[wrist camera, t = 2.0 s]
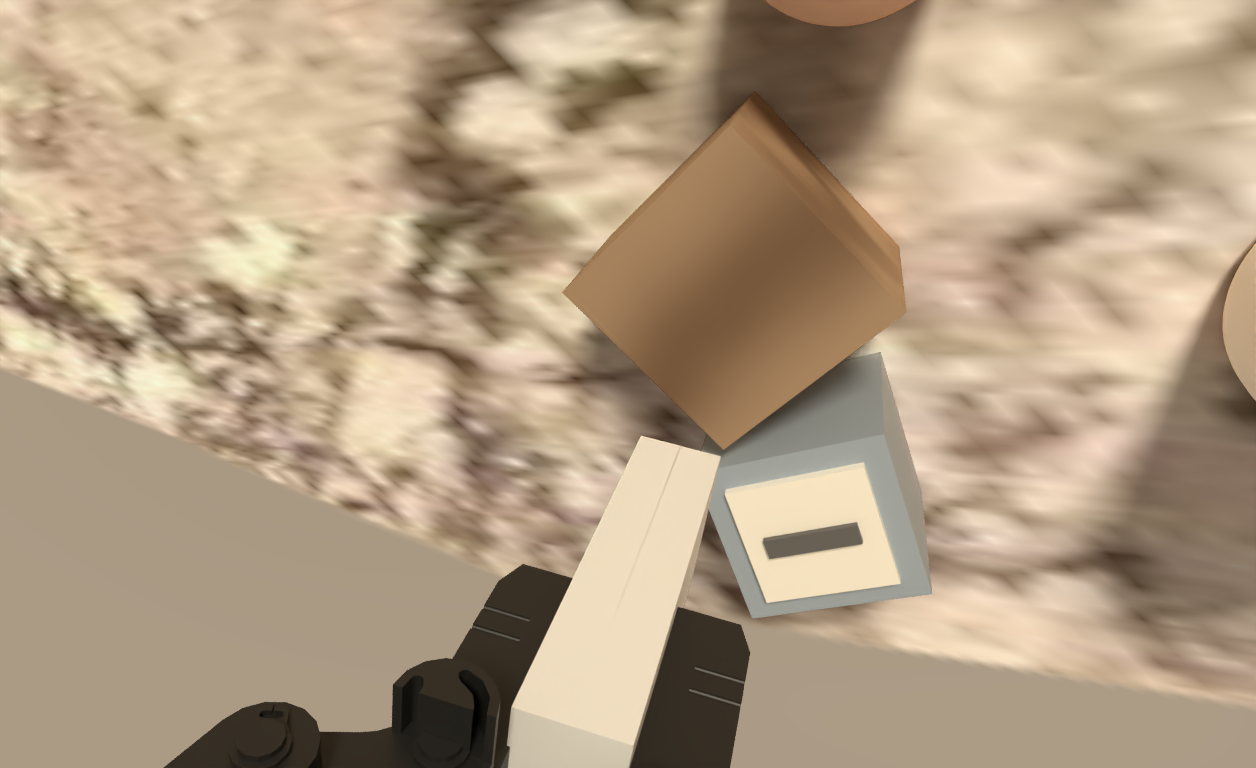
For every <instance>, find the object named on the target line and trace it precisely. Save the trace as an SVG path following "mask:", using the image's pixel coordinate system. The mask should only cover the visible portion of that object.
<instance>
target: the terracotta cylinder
mask: <svg viewBox="0 0 1256 768" xmlns="http://www.w3.org/2000/svg"><path fill="white" fill-rule="evenodd" d="M765 1H766V2H767V3H768V4H770V5H771V6H772V7H774V8H776V9H777V10H779V11H781V12H782V13H784V14H786V15H788V16H791V17H793V18H795V19H798V20H800V21H804V22H808V23H812V24H816V25H824V26H851V25H857V24H863V23H868V22H871V21H874V20H878V19H881V18H884V17H886V16H888V15H890V14H893V13H895V12H897V11H899V10H901V9H903V8H904V7H906V6H908V5H909V4H911V3H912V2H914V1H916V0H765Z"/></svg>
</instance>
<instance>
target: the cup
mask: <svg viewBox="0 0 1256 768" xmlns="http://www.w3.org/2000/svg"><path fill="white" fill-rule="evenodd" d="M1223 339H1224V344H1225V348H1226V352H1227V355H1228V357H1229V360H1230V362H1231V365H1232V367H1233V369H1234V371H1235V373H1236V375H1237V376H1238V378H1239V380H1240V381H1241V382H1242V384H1243V385H1244V387H1245V388H1246V389H1247V391H1248V392H1249V393H1250V395H1251V396H1252V397H1253V398H1254V400H1255V401H1256V244H1255V245H1254V246H1253V247H1252V249H1251V250H1250V251H1249V252H1248V254H1247V255H1246V256H1245V258H1244V260H1243V261H1242V263H1241V264H1240V266H1239V268H1238V270H1237V272H1236V274H1235V276H1234V278H1233V280H1232V282H1231V285H1230V288H1229V290H1228V294H1227V297H1226V301H1225V305H1224V312H1223Z"/></svg>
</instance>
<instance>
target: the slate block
mask: <svg viewBox="0 0 1256 768" xmlns="http://www.w3.org/2000/svg"><path fill="white" fill-rule="evenodd" d="M702 452H706V453H710V454H714V455H717V456H721V458H720V462H719V467H718V471H717V475H716V479H715V484H714V488H713V492H712V497H711V501H710V505H709V511H710V514H711V516H712V519H713V521H714V524H715V526H716V529H717V531H718V534H719V536H720V539H721V542H722V544H723V547H724V549H725V552H726V554H727V557H728V559H729V562H730V564H731V567H732V569H733V572H734V574H735V577H736V579H737V582H738V584H739V587H740V589H741V592H742V594H743V597H744V599H745V602H746V604H747V607H748V609H749V612H750V614H751V617H752V619H753V618H760V617H768V616H775V615H782V614H790V613H797V612H804V611H811V610H819V609H826V608H833V607H841V606H848V605H855V604H863V603H870V602H877V601H885V600H892V599H899V598H906V597H914V596H921V595H928V594H932V587H931V578H930V568H929V559H928V549H927V540H926V530H925V520H924V511H923V501H922V492H921V488H920V485H919V482H918V478H917V475H916V471H915V468H914V464H913V461H912V458H911V454H910V451H909V447H908V444H907V440H906V437H905V434H904V430H903V427H902V423H901V420H900V417H899V413H898V410H897V406H896V403H895V399H894V396H893V393H892V389H891V386H890V382H889V379H888V375H887V372H886V369H885V365H884V362H883V358H882V355H881V352H878V353H874V354H870V355H866V356H862V357H858V358H853V359H849V360H845V361H841V362H840V363H839V364H837V365H836V366H835V367H833V368H832V369H831V370H829V371H828V372H827V373H825V374H824V375H823V376H821V377H820V378H819V379H817V380H816V381H815V382H813V383H812V384H811V385H809V386H808V387H807V388H805V389H804V390H803V391H801V392H800V393H799V394H797V395H796V396H795V397H793V398H792V399H791V400H789V401H788V402H787V403H785V404H784V405H783V406H781V407H780V408H779V409H777V410H776V411H775V412H773V413H772V414H771V415H769V416H768V417H767V418H765V419H764V420H763V421H761V422H760V423H759V424H757V425H756V426H755V427H753V428H752V429H751V430H749V431H748V432H747V433H745V434H744V435H743V436H741V437H740V438H739V439H737V440H736V441H735V442H733V443H732V444H731V445H729V446H728V447H727V448H725V449H724V450H723V449H722V448H721V447H720V446H719V445H718V444H717V443H716V442H715V441H714V440H713V439H712V438H711V437H710V436H709V435H708V434H707V435H706V438H705V441H704V444H703V448H702Z"/></svg>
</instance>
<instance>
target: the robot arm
mask: <svg viewBox="0 0 1256 768" xmlns="http://www.w3.org/2000/svg"><path fill="white" fill-rule="evenodd" d="M720 458H721V456H717V455H714V454H710V453H706V452H702V451H698V450H694V449H691V448H687V447H683V446H679V445H675V444H671V443H667V442H664V441H660V440H656V439H652V438H648V437H644V436H641V437H640V439H639V441H638V443H637V445H636V447H635V450H634V452H633V454H632V456H631V458H630V460H629V462H628V464H627V466H626V468H625V470H624V473H623V475H622V477H621V479H620V481H619V483H618V485H617V487H616V489H615V491H614V493H613V496H612V498H611V500H610V502H609V504H608V506H607V508H606V510H605V512H604V514H603V516H602V519H601V521H600V523H599V525H598V527H597V529H596V531H595V533H594V535H593V537H592V539H591V542H590V544H589V546H588V548H587V550H586V552H585V554H584V556H583V558H582V560H581V562H580V565H579V567H578V569H577V571H576V573H575V575H574V577H573V578H569V577H566V576H563V575H559V574H556V573H552V572H549V571H545V570H542V569H538V568H535V567H532V566H528V565H525V564H522V565H521V566H520V567H518V568H517V569H515V570H514V571H512V572H511V573H510V574H508V575H507V576H505V577H504V578H502V579H501V580H499V581H498V583H497V585H496V586H495V588H494V590H493V591H492V593H491V595H490V597H489V598H488V600H487V601H486V603H485V605H484V609H482V610H481V612H480V613H479V615H478V617H477V618H476V620H475V622H474V623H473V627H472V629H470V630H469V632H468V633H467V635H466V637H465V639H464V640H463V642H462V644H461V645H460V647H459V649H458V650H457V652H456V654H455V656H454V657H453V659H448V658H444V659H438V660H431V661H426V662H423V663H421V664H419V665H417V666H415V667H413V668H411V669H409V670H407V671H406V672H405V673H404V674H403V675H402V676H401V677H400V678H399V679H398V680H397V681H396V682H395V683H394V684H393V706H392V727H389V728H386V729H382V730H379V731H371V732H319V729H318V725H317V721H316V720H315V719H314V718H313V717H312V716H311V715H310V714H309V713H308V712H307V711H306V710H305V709H303V708H300V707H297V706H294V705H292V704H289V703H286V702H264V703H260V704H256V705H252V706H249V707H245V708H242V709H240V710H239V711H237V712H235V713H234V714H232V715H230V716H229V717H227V718H225V719H224V720H222V721H221V722H220V723H218V724H217V725H216V726H215V727H213V728H212V729H211V730H210V731H208V733H206V734H205V735H203V736H202V737H201V738H200V739H199V740H197V741H196V742H195V743H194V744H192V745H191V746H190V747H189V748H188V749H186V750H185V751H184V752H182V753H181V754H180V755H179V756H177V757H176V758H175V759H174V760H172V761H171V762H170V763H169V764H168V765H167V766H165V767H164V768H730V763H731V758H732V753H733V747H734V741H735V736H736V730H737V724H738V719H739V712H740V706H741V702H742V696H743V690H744V683H745V679H746V673H747V668H748V661H749V656H750V651H749V648H748V645H747V642H746V639H745V636H744V633H743V630H742V627H741V625H739V624H736V623H732V622H729V621H725V620H722V619H719V618H715V617H712V616H708V615H705V614H701V613H698V612H694V611H691V610H687V609H684V604H685V601H686V597H687V594H688V590H689V587H690V583H691V580H692V577H693V573H694V569H695V565H696V560H697V556H698V552H699V548H700V543H701V539H702V535H703V531H704V526H705V522H706V518H707V514H708V509H709V505H710V501H711V497H712V492H713V488H714V484H715V479H716V475H717V471H718V467H719V462H720Z"/></svg>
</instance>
